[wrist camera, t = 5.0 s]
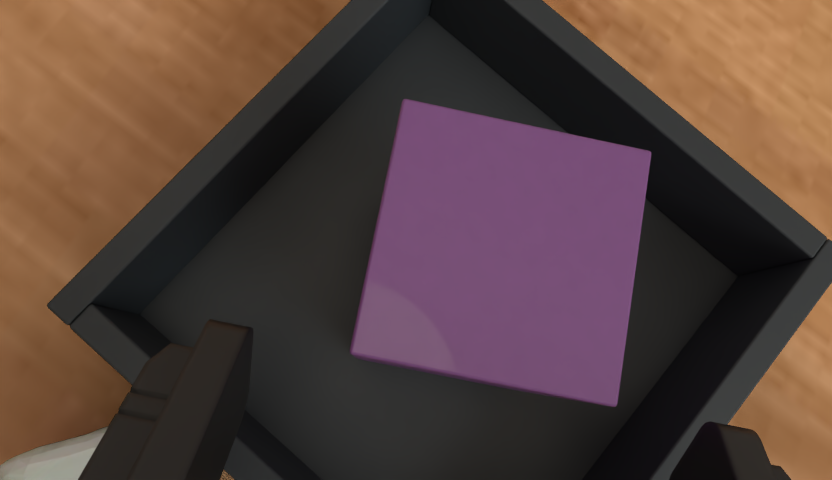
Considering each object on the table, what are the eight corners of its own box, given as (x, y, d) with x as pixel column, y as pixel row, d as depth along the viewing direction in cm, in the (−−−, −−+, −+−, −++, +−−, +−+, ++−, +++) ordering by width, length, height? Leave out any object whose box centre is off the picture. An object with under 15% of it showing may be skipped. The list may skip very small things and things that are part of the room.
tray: (113, 318, 20) (44, 305, 15) (423, -1, 22) (437, -89, 18) (473, 646, 19) (505, 729, 14) (754, 278, 21) (851, 256, 17)
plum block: (514, 390, 19) (618, 408, 11) (354, 358, 19) (348, 354, 11) (539, 233, 20) (652, 150, 12) (387, 202, 20) (402, 96, 12)
